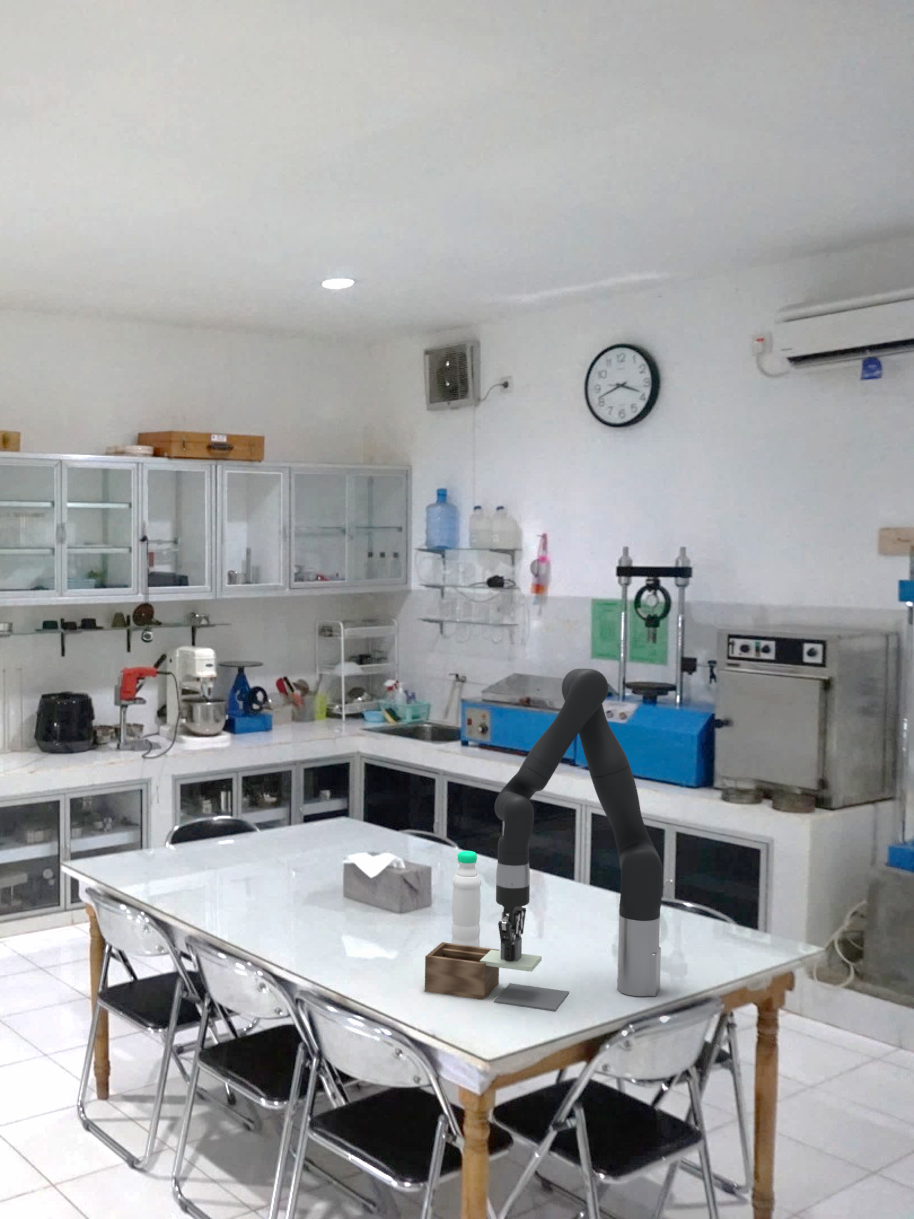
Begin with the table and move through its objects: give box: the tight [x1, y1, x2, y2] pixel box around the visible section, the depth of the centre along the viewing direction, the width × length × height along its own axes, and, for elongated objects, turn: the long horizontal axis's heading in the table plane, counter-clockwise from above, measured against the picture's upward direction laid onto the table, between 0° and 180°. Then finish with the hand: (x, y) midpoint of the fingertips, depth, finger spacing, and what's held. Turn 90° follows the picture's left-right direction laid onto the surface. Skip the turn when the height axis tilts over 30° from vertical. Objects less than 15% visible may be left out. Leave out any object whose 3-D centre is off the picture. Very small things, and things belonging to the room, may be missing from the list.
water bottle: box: [451, 850, 482, 947], centre depth 302 cm, size 7×7×25 cm
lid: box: [480, 936, 543, 973], centre depth 274 cm, size 12×8×6 cm, turn 70°
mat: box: [493, 982, 570, 1012], centre depth 272 cm, size 14×12×1 cm
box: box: [424, 941, 500, 1001], centre depth 278 cm, size 14×11×8 cm
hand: (511, 957), depth 274 cm, fingers closed on lid, 3 cm apart
